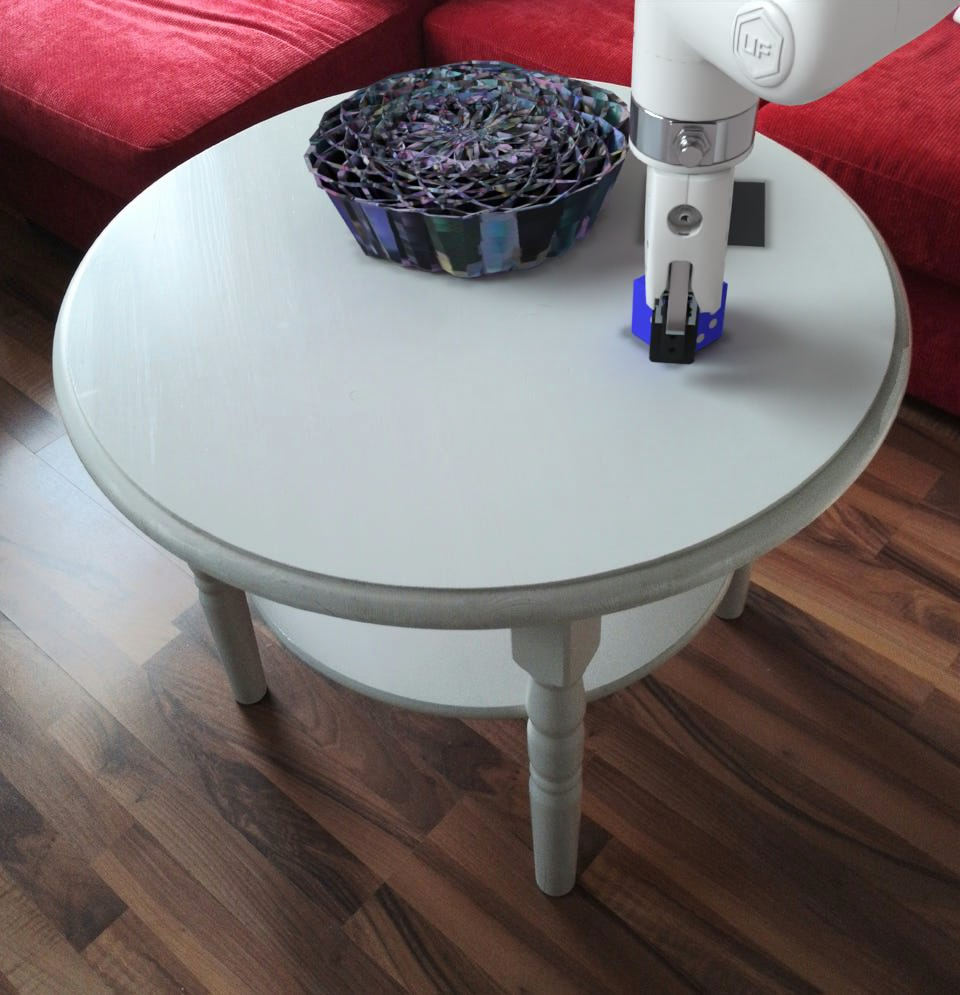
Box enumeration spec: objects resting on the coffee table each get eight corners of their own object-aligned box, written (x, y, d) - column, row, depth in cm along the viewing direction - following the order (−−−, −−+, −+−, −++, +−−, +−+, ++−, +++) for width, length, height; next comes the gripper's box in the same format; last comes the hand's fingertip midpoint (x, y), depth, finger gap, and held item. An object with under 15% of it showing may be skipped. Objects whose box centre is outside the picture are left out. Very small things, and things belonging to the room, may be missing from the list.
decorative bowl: (404, 144, 111) (384, 47, 104) (671, 159, 101) (669, 53, 95) (285, 290, 95) (252, 187, 88) (589, 324, 86) (579, 211, 79)
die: (630, 333, 85) (632, 279, 81) (677, 307, 87) (681, 253, 83) (674, 364, 82) (678, 310, 79) (723, 337, 84) (729, 283, 80)
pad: (764, 183, 99) (764, 182, 98) (764, 247, 92) (764, 246, 92) (652, 179, 100) (652, 178, 100) (643, 242, 94) (643, 241, 93)
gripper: (758, 190, 60) (723, 431, 74) (755, 62, 70) (725, 295, 84) (620, 185, 61) (611, 424, 75) (637, 60, 71) (626, 291, 85)
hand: (671, 355), depth 79 cm, fingers closed
